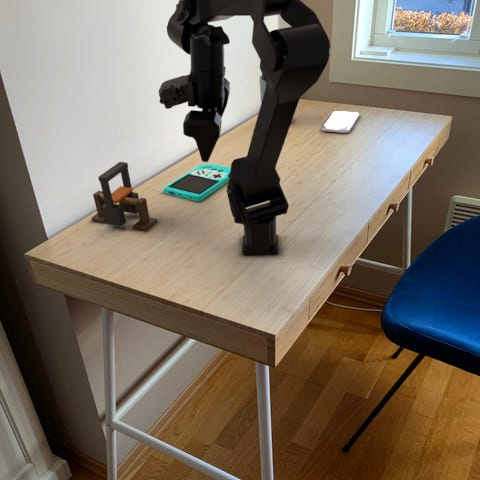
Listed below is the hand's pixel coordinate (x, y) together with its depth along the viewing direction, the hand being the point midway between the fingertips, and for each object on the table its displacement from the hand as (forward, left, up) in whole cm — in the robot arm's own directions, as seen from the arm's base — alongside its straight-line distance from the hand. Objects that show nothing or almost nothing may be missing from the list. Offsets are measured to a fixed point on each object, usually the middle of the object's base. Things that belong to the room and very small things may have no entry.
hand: (208, 149), depth 101 cm
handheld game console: (+12, +3, -12) cm, 17 cm away
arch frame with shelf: (-5, +18, -11) cm, 22 cm away
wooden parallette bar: (-5, +18, -12) cm, 22 cm away
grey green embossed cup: (+52, -15, -12) cm, 55 cm away
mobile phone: (+48, -32, -12) cm, 59 cm away
